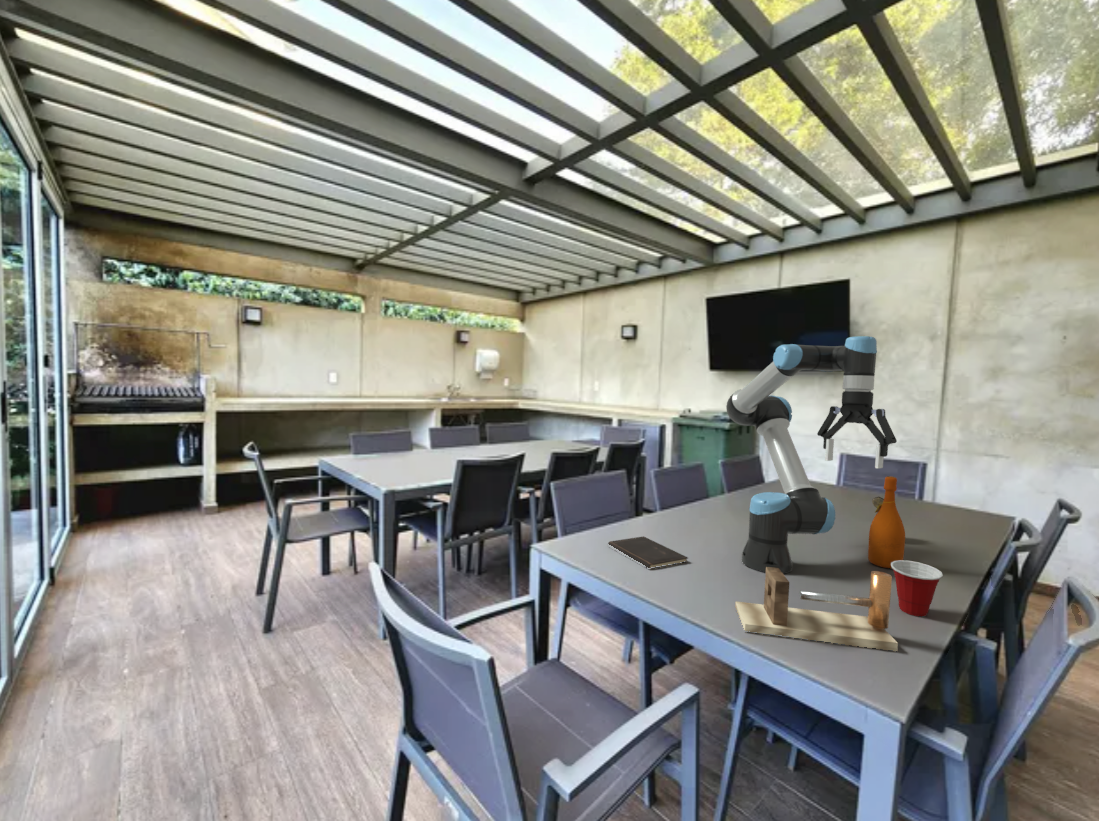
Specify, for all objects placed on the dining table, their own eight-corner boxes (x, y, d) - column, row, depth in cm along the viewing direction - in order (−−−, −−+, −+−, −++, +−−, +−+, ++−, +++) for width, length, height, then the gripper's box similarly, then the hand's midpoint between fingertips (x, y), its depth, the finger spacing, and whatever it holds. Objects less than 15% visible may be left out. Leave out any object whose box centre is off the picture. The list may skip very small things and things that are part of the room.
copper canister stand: (744, 632, 111) (747, 580, 110) (735, 608, 122) (737, 561, 122) (897, 651, 104) (901, 596, 104) (871, 625, 116) (875, 575, 115)
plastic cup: (883, 610, 124) (886, 566, 123) (891, 598, 132) (894, 556, 131) (936, 626, 116) (940, 579, 116) (941, 612, 124) (945, 568, 123)
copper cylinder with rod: (802, 619, 112) (805, 569, 111) (796, 611, 116) (799, 563, 115) (891, 629, 108) (895, 578, 107) (883, 621, 112) (886, 572, 111)
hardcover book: (643, 542, 174) (643, 536, 174) (687, 564, 154) (688, 557, 154) (607, 547, 167) (607, 541, 167) (649, 571, 147) (649, 564, 147)
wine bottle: (888, 559, 163) (894, 474, 162) (910, 570, 153) (917, 479, 152) (860, 558, 163) (866, 473, 161) (881, 570, 153) (887, 479, 151)
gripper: (914, 392, 126) (909, 470, 127) (821, 390, 147) (817, 457, 149) (901, 391, 122) (895, 472, 123) (807, 389, 144) (803, 458, 145)
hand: (852, 464), depth 136 cm, fingers open, 13 cm apart
